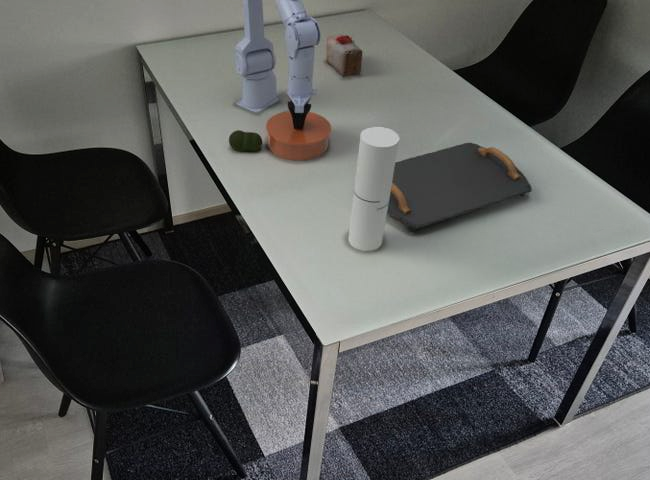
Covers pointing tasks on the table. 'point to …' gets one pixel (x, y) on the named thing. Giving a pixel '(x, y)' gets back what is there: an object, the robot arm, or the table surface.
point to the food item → (344, 55)
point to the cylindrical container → (372, 187)
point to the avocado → (245, 141)
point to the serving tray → (452, 184)
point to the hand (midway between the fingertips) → (298, 124)
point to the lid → (310, 134)
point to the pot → (297, 149)
